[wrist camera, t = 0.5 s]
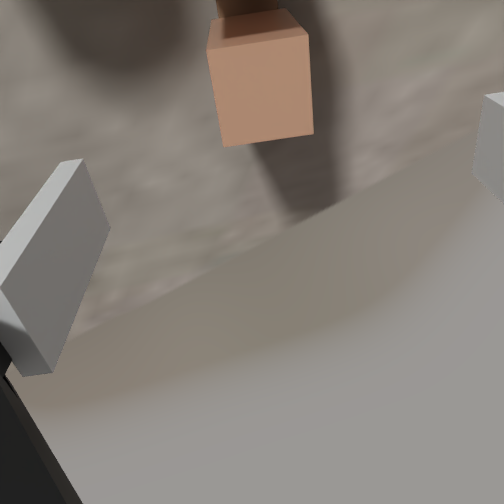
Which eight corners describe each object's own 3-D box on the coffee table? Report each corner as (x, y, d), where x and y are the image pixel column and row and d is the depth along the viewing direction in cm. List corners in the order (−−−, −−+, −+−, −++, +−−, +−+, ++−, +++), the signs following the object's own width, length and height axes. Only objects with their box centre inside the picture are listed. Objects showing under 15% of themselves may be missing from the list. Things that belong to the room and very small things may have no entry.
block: (224, 94, 33) (223, 147, 24) (211, 19, 30) (206, 50, 22) (291, 84, 32) (313, 133, 24) (285, 7, 29) (308, 34, 21)
